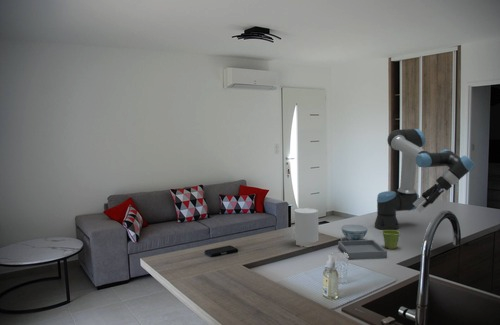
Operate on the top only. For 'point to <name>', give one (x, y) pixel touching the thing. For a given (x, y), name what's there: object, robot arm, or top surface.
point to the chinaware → (354, 232)
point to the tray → (362, 249)
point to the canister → (306, 225)
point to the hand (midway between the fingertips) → (416, 208)
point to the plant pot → (391, 238)
